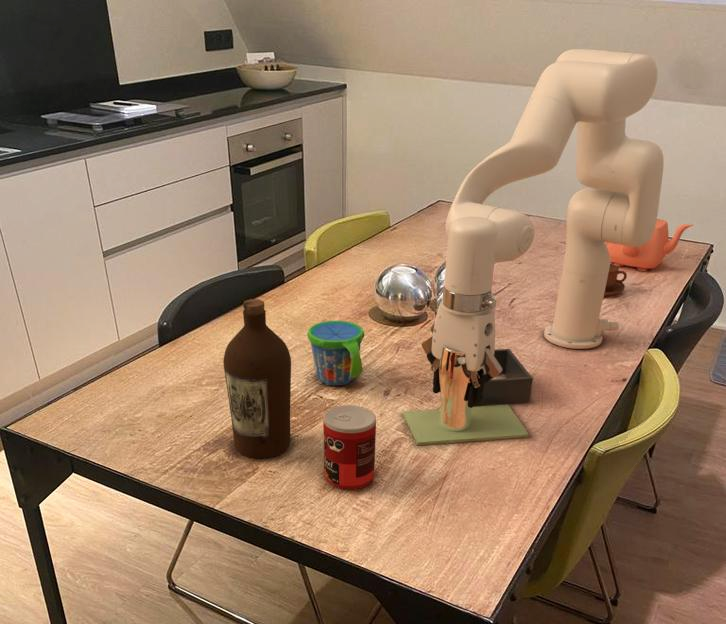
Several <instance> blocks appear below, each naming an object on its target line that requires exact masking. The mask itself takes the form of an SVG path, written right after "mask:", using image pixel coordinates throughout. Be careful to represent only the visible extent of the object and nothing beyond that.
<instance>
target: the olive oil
mask: <svg viewBox="0 0 726 624" xmlns="http://www.w3.org/2000/svg"><path fill="white" fill-rule="evenodd" d="M242 304H243V311H242V315H243V326H242V328H241V329H240V330H239V331H238V332H237V333H236V334H235V335H234V336H233V337H232V338H231V340H230V341H229V342H228V343H227V345H226V348H225V351H224V354H223V370H224V378H225V383H226V391H227V397H228V404H229V405H228V406H229V410H230V412H229V413H230V418H231V419H230V420H231V426H232V427H231V428H232V435H233V443H234V448H235V450H236V451H237V452H238V453H239V454H241V455H243V456H245V457H248V458H252V459H269V458H274V457H277V456H279V455H281V454H283V453H285V452H287V450H288V449H289V448H290V446H291V394H292V393H291V391H292V390H291V387H292V379H291V378H292V358H291V354H290V350H289V348H288V346H287V343H285V341H284V340H283V339H282V338H281V337H280V336H279V335H278V334H276V332H274V331H273V330H272V329H271V328H270V327H269V326H268V325H267V319H266V314H267V313H266V310H265V302H264V301H263V300H262V299H258V298H252V299H251V298H250V299H247V300H244V301H243V303H242Z"/></svg>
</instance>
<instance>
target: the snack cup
mask: <svg viewBox="0 0 726 624" xmlns="http://www.w3.org/2000/svg"><path fill="white" fill-rule="evenodd" d="M306 336H307V339H308V341H309V342H310V345H311V352H312V357H313V363H314V368H315V372H316V377H317V379H318V380H319V382H321V383H323V384H325V385H327V386H346V385H348V384H350V383H351V382H353V381H354V380H355V378H358V377H359V376H361V375H362V374H363V372H364V371H363V370H364V369H363V363H362V358H361V344H362V342H363V339H364V338H365V331H364V329H363V328H362V326H360V325H359V324H357V323H354V322H351V321H345V320H326V321H321V322H317V323H314V324H313V325H312V326H310V327H309V328H308V331H307V335H306Z"/></svg>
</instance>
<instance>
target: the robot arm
mask: <svg viewBox="0 0 726 624" xmlns="http://www.w3.org/2000/svg"><path fill="white" fill-rule="evenodd" d="M657 83H658V67H657V65H656V61H655V59H653V58H652V56H650V55H648V54H646V53H645V54H644V53H634V52H626V51H625V52H623V51H611V50H604V49H590V48H572V49H568V50H565V51H563V52H562V53H561V54H559V55H558V57H557V59H556V60H555V62H553V63H551V64H549V65H548V66H547V67H546V68H545V69H544V70H543V71H542V73H541V75H540V76H539V79H538V81H537V82H536V85H535V87H534V89H533V91H532V94H531V95H530V98H529V100H528V102H527V104H526V106H525V108H524V110H523V113H522V115H521V117H520V118H519V121H518V123H517V126H516V127H515V130H514V132H513V135H512V136H511V138H510V140H509V141H508V142H507V143H506V144H504V145H503V146H501V147H499V148H497V149H496V150H495V151H494V152H492V153H491V154H489V155H488V156H486V157H485V158H484V159H482V160H481V161H480V163H478V164H477V165H476V166H475V167H473V168H472V169H471V170H470V171H469V172H468V174H467V175H466V176H465V177H464V179H463V180H462V182H461V184H460V186H459V188H458V190H457V193H456V194H455V197H454V199H453V201H452V203H451V206H450V207H449V210H448V214H447V216H446V220H445V225H444V234H445V237H446V240H447V247H446V257H445V258H446V259H445V269H444V270H445V271H444V282H443V283H444V284H443V295H442V300H441V301H440V302H439V305H438V308H437V312H436V315H435V320H434V325H433V331H432V336H430V337H428V338H427V339H425V340H424V341H422V343H421V347H422V349H423V352H424V353H425V354H426V358H427V360H428V362H429V363H430V365H431V366H430V369H431V371H432V372H433V377H432V385H433V387H432V393H433V394H436V395H437V394H438V393H440V385H439V362H440V355H441V350H442V345H444V346H445V347H446V348H447V349H449V350H452V351H456V352H464V353H465V358H466V365H467V370H469V371H471V380H472V383H473V385H471V386H470V387H469V395H468V407H470V408H472V407H476V406H475V405H477V404H479V403H480V402H481V401H482V398H483V390H484V384H485V383H486V382H488V381H490V380H491V379H495V377H497V376H498V375H500V374H502V373H501V372H502V367H501V366H500V364H499V363H498V361H497V360H496V358H495V357H494V350H496V347H495V346H496V319H495V312H494V308H495V307H496V305H497V300H496V299H494V298H493V297H492V294H493V292H492V288H493V279H494V270H495V265H496V264H497V263H505V262H510V261H514V260H517V259H519V258H520V257H522V256H524V255H525V254H526V253H527V252H528V251H529V249H530V248H531V247H532V246H531V245H532V244H533V242H534V238H535V226H534V222H533V221H532V219H531V218H530V217H529V216H528V215H527V214H525V213H522V212H520V211H516V210H513V209H507V208H501V207H498V206H495V205H494V206H493V205H488V204H484V202H485V201H486V199H488V198H489V196H491V195H492V194H493V193H494V192H495V191H497V190H498V189H501V188H502V187H504V186H506V185H508V184H513V183H515V182H518V181H522V180H526V179H529V178H532V177H536V176H539V175H542V174H545V173H547V172H550V171H551V170H553V169H554V168H555V167H556V166H557V165H558V163H559V161H560V159H561V157H562V154H563V152H564V151H565V148H566V146H567V144H568V142H569V140H570V138H571V135H572V133H573V131H574V128H575V126H577V133H576V134H577V136H576V157H575V158H576V163H575V164H576V165H575V168H576V169H575V170H576V178H577V180H578V182H579V183H580V184H581V185H583V186H585V187H586V188H583V189H579V190H578V191H576V192H575V193H574V194H573V195H572V197H571V198H570V200H569V202H568V204H567V207H566V236H565V237H566V239H565V248H564V249H565V250H564V255H563V262H562V269H561V274H560V278H559V286H558V290H557V291H558V293H557V297H556V303H555V308H554V315H553V321H552V324H549V325H548V326H546V327H545V328H544V330H543V337H544V338H545V339H546V340H547V341H548V342H549V343H551V344H553V345H555V346H559V347H562V348H567V349H571V350H573V349H575V350H587V349H588V350H589V349H594V348H597V347H598V346H600V345H601V344H602V342H603V337H604V336H603V333H605V332H606V331H607V332H614V331H615V332H616V331H618V330H619V327H620V326H619V322H618V321H609V320H608V318H601V319H600V317H601V312H602V307H603V302H604V296H605V295H604V292H605V287H606V282H607V278H608V273H609V268H610V264H611V261H610V255H609V251H608V248H607V245H606V242H610V243H615V244H619V245H624V246H631V247H639V246H642V245H644V244H646V243H647V242H648V241H649V240H650V238H651V236H652V234H653V232H654V229H655V225H656V221H657V219H658V214H659V207H660V200H661V199H660V198H661V190H662V182H663V176H664V175H663V173H664V165H665V162H664V161H665V159H664V154H663V150H662V149H661V146H659V145H658V144H657V143H655V142H653V141H650V140H649V141H648V140H644V139H637V138H630V137H628V136H627V134H626V120H627V118H628V117H630V116H633V115H635V114H636V113H638V112H640V111H641V110H642V109H643V108H644V107H645V106H646V105H647V104H648V103H649V101H650V99H651V98H652V96H653V94H654V92H655V89H656V87H657ZM484 365H488V367H489V369H490V370H489V372H488V373H486V370H485V367H484ZM477 371H479V377H478V373H477Z"/></svg>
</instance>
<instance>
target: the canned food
mask: <svg viewBox="0 0 726 624" xmlns="http://www.w3.org/2000/svg"><path fill="white" fill-rule="evenodd" d="M376 419H377V417H376V414H375V413H374V412H373V411H372V410H370V409H368V408H366V407H363V406H359V405H351V404H350V405H349V404H348V405H339V406H335V407H332V408H329V409H328V410H326V412H325V413H324V415H323V421H322V422H323V425H322V426H323V427H322V429H323V430H322V431H323V435H322V436H323V474H324V478H325V480H326V482H327V483H328V484H330V485H331V486H333V487H335V488H337V489H340V490H349V491H350V490H359V489H362V488H365V487H366V486H368V485H370V484H371V483H372V481H373V478H374V477H375V465H376V464H375V462H376V438H377V437H376V436H377V435H376V434H377V420H376Z"/></svg>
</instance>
